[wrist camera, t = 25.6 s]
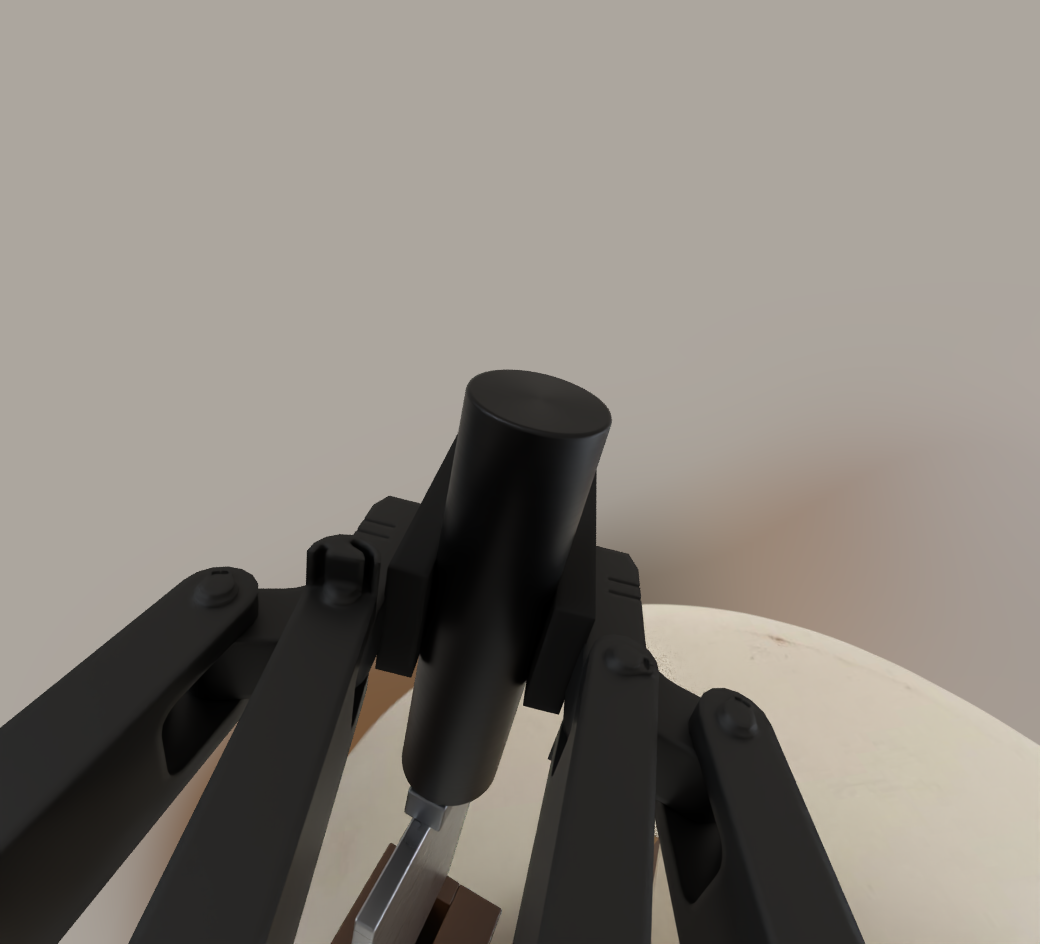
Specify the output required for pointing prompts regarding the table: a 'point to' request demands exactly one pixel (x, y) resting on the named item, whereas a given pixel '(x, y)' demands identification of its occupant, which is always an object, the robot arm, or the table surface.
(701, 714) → the robot arm
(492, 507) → the knife
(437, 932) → the knife block
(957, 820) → the table surface
